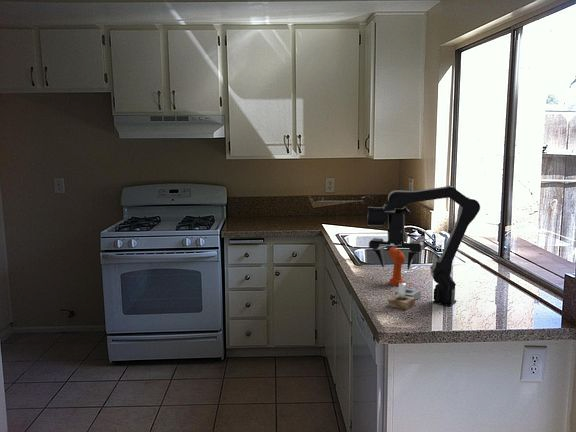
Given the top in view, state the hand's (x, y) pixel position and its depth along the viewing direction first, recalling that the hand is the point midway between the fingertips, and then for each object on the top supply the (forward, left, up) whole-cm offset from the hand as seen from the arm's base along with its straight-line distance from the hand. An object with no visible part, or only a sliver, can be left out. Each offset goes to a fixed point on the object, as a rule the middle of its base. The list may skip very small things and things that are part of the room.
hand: (395, 268), depth 187 cm
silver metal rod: (-4, +3, -12) cm, 13 cm away
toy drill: (+13, -23, -13) cm, 29 cm away
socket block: (-4, +3, -12) cm, 13 cm away
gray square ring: (-2, -6, -12) cm, 14 cm away
